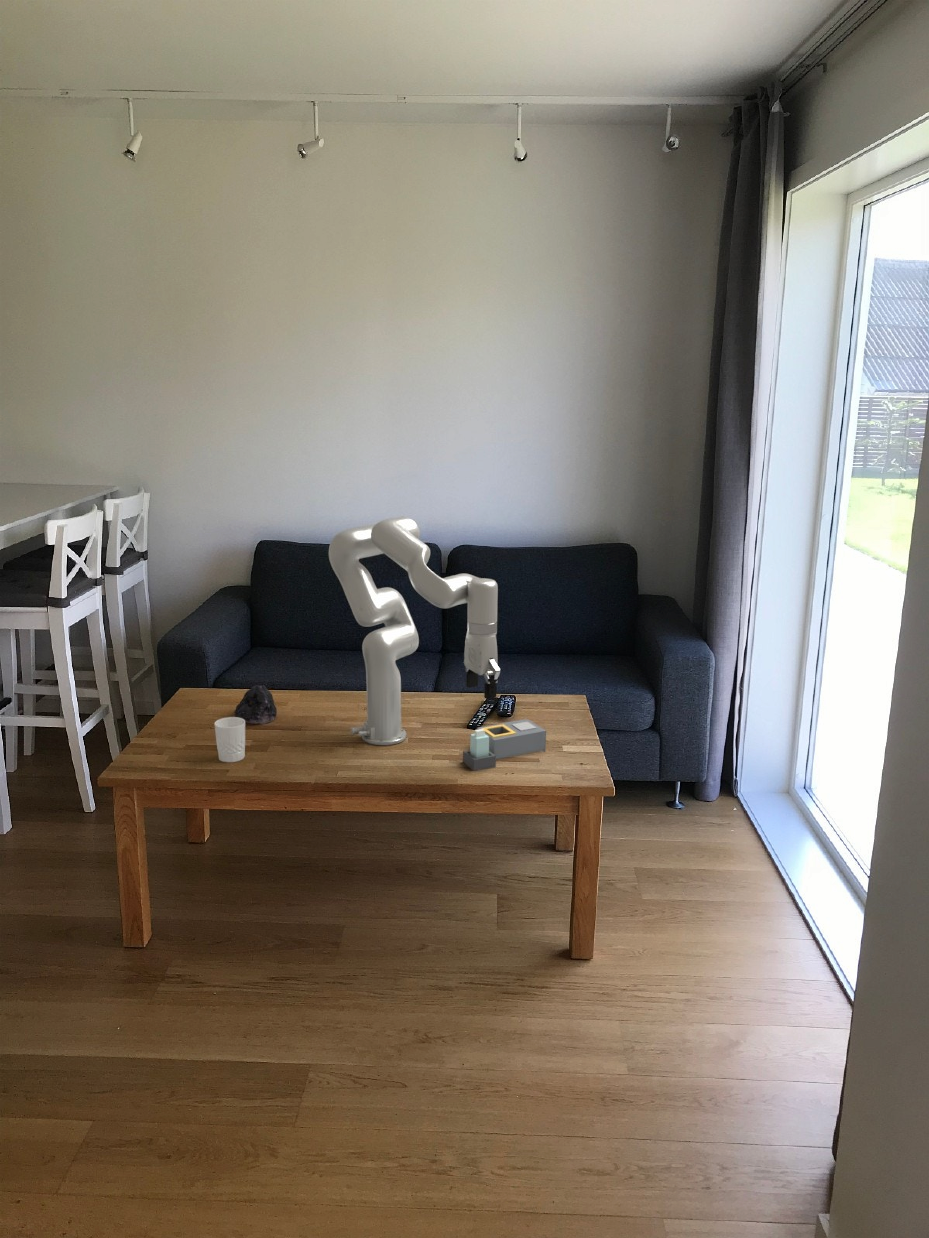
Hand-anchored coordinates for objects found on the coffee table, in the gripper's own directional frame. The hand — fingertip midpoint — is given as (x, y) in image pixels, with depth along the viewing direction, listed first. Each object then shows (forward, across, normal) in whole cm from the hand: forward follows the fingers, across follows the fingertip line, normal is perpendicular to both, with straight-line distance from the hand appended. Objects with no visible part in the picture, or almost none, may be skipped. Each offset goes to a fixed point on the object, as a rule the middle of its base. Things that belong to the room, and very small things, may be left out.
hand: (481, 691), depth 238 cm
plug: (+20, 0, 0) cm, 20 cm away
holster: (+20, 0, 0) cm, 20 cm away
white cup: (+20, -33, -57) cm, 69 cm away
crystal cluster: (+20, -60, -43) cm, 77 cm away
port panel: (+20, -6, +13) cm, 25 cm away
